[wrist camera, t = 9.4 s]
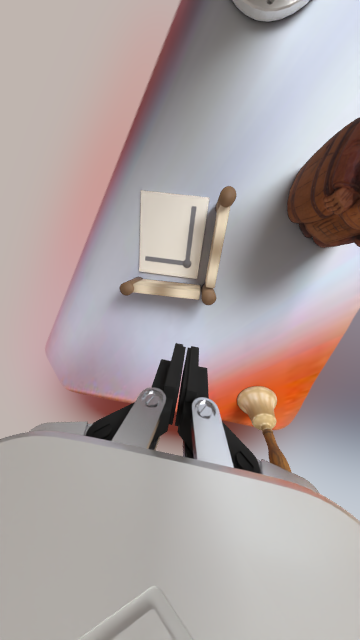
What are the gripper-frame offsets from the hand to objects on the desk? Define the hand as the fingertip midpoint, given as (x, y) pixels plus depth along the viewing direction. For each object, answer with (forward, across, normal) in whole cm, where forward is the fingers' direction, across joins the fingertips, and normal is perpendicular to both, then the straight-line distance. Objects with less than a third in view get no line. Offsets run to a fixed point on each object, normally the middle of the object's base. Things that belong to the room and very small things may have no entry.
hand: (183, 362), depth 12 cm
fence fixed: (+20, -2, -7) cm, 21 cm away
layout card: (+20, +5, -8) cm, 22 cm away
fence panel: (+19, +5, 0) cm, 20 cm away
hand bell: (+19, -18, +22) cm, 34 cm away
